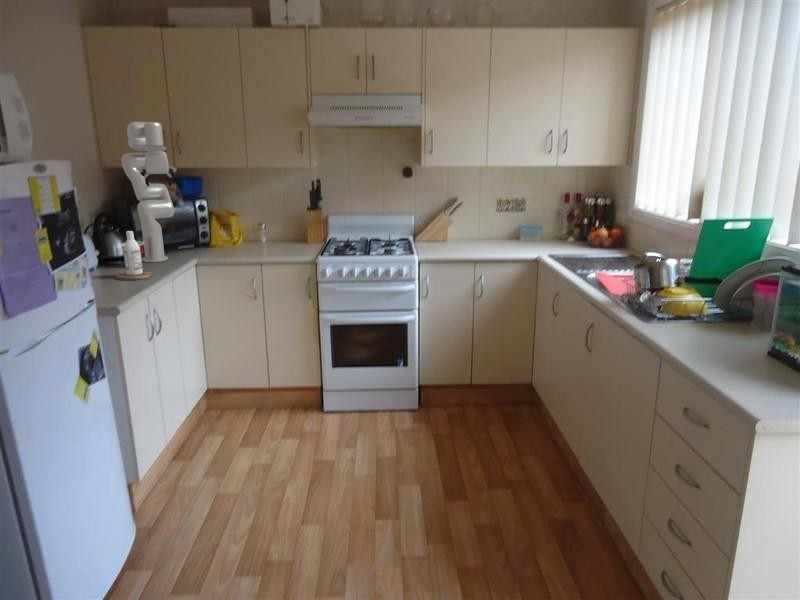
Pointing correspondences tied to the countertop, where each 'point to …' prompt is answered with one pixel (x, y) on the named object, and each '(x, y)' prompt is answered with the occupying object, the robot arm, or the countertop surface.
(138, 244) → the plastic cup
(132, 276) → the coaster
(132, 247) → the bath foam
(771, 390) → the countertop surface
